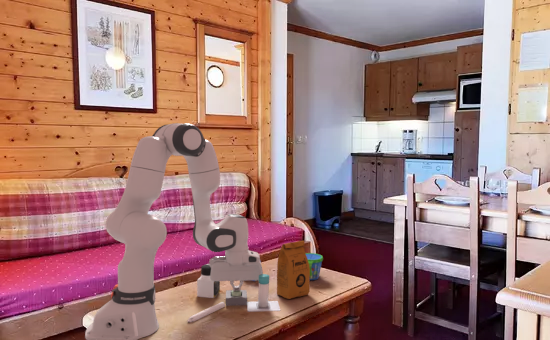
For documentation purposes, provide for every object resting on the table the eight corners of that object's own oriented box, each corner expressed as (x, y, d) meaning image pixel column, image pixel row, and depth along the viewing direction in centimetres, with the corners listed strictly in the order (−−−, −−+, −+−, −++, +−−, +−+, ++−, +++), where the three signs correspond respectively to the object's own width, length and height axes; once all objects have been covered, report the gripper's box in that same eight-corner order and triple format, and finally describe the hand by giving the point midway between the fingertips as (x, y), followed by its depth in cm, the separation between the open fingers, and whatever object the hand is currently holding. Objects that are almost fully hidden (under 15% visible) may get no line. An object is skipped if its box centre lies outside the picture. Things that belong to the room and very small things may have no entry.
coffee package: (312, 296, 169) (314, 242, 167) (287, 302, 162) (288, 246, 160) (298, 288, 177) (299, 237, 175) (273, 294, 171) (274, 240, 169)
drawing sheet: (247, 311, 153) (247, 311, 153) (246, 302, 162) (246, 301, 162) (280, 311, 154) (280, 310, 154) (277, 301, 163) (277, 300, 163)
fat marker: (257, 307, 156) (258, 277, 155) (257, 303, 160) (258, 274, 159) (268, 307, 156) (269, 277, 155) (268, 303, 160) (269, 274, 159)
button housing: (225, 305, 158) (225, 298, 158) (226, 297, 166) (226, 290, 166) (247, 305, 159) (247, 297, 159) (246, 297, 167) (246, 289, 166)
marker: (189, 325, 142) (189, 318, 142) (185, 323, 143) (185, 316, 143) (225, 307, 157) (225, 301, 157) (221, 306, 158) (221, 300, 158)
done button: (231, 300, 160) (231, 293, 160) (231, 297, 164) (231, 289, 164) (241, 300, 161) (241, 293, 160) (240, 296, 164) (240, 289, 164)
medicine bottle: (214, 298, 165) (214, 268, 164) (196, 297, 166) (196, 267, 165) (220, 292, 172) (220, 263, 171) (203, 290, 173) (203, 262, 172)
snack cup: (318, 285, 182) (319, 262, 181) (295, 282, 185) (295, 259, 184) (325, 274, 197) (325, 252, 196) (303, 271, 200) (303, 250, 199)
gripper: (209, 259, 157) (209, 295, 158) (263, 257, 159) (263, 293, 160) (209, 254, 163) (209, 288, 164) (262, 253, 165) (262, 287, 166)
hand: (236, 291), depth 162 cm, fingers closed
